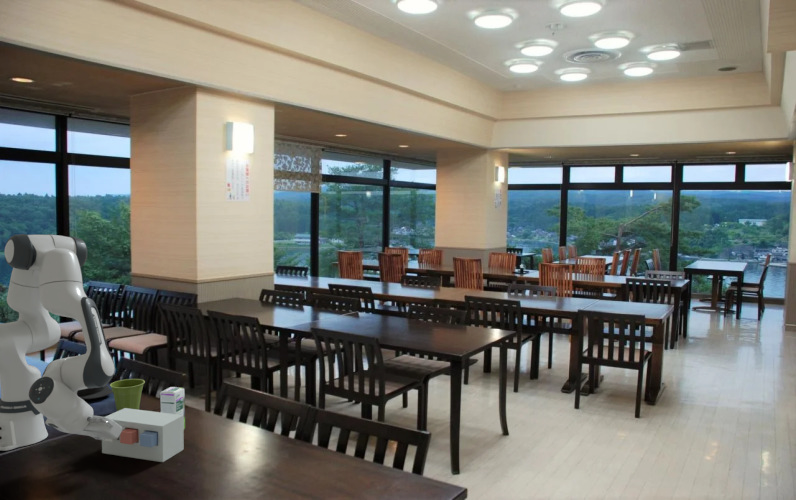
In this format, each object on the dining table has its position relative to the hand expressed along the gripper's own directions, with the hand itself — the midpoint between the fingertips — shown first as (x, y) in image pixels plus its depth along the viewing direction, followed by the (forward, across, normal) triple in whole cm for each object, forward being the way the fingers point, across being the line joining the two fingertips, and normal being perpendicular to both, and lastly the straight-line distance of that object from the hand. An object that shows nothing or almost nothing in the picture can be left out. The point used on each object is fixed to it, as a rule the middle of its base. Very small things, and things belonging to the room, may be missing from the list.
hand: (101, 437), depth 174 cm
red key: (+4, -7, -1) cm, 8 cm away
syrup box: (+24, -5, -14) cm, 28 cm away
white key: (+4, 0, -1) cm, 4 cm away
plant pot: (+31, +22, -21) cm, 44 cm away
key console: (+12, -7, -2) cm, 14 cm away
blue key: (+4, -14, -1) cm, 14 cm away
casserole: (+39, +53, -29) cm, 72 cm away
